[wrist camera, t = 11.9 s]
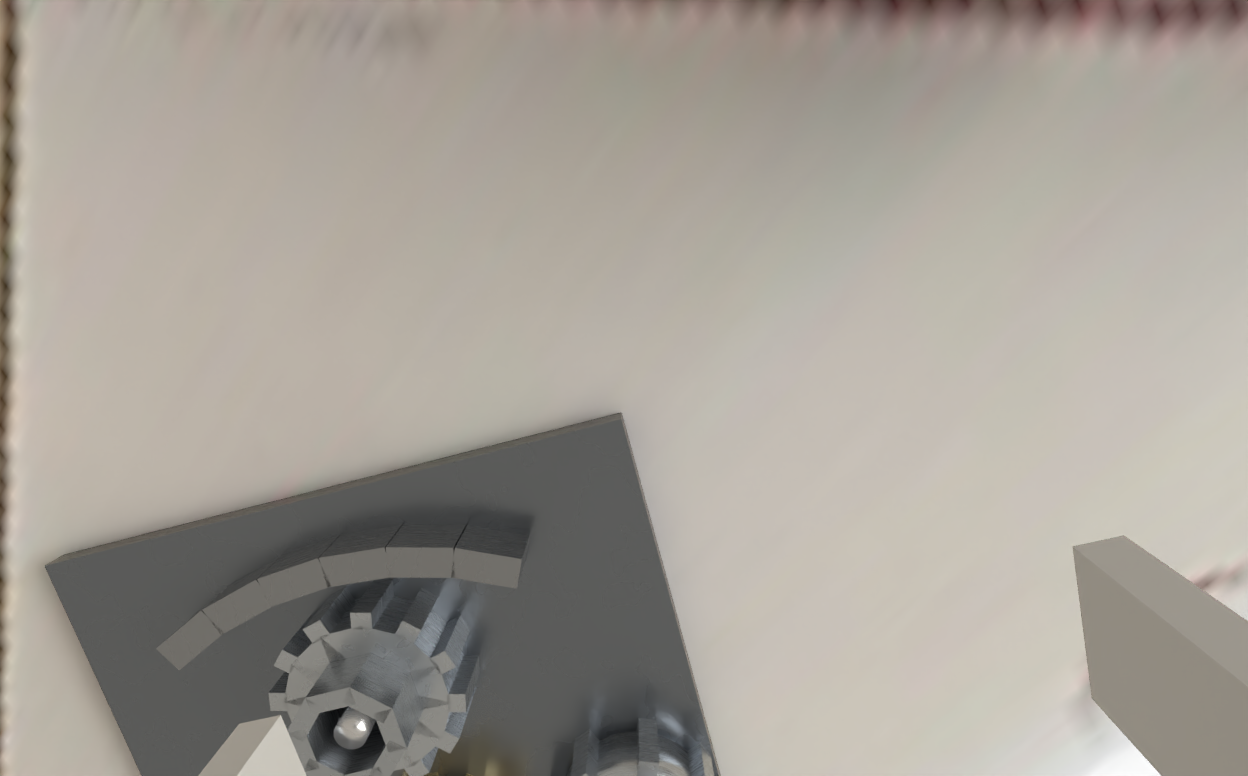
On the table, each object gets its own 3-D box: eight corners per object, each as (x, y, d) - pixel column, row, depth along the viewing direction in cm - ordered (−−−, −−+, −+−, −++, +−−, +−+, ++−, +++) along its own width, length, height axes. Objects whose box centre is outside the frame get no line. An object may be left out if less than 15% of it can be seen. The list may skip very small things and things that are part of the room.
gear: (273, 604, 35) (208, 673, 29) (447, 562, 34) (413, 624, 29) (334, 758, 37) (284, 849, 31) (500, 719, 36) (478, 806, 31)
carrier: (63, 554, 36) (-81, 637, 28) (621, 412, 34) (619, 462, 27) (255, 974, 41) (174, 1135, 34) (746, 869, 39) (772, 1014, 32)
